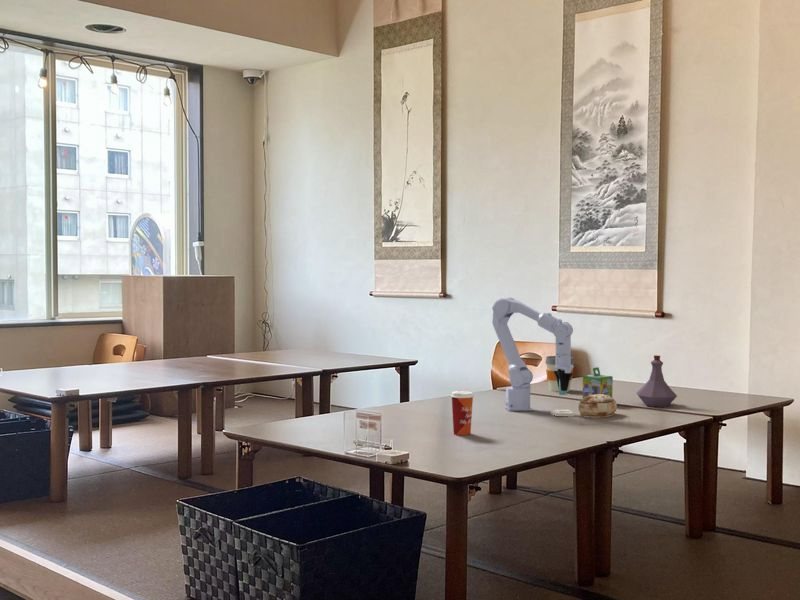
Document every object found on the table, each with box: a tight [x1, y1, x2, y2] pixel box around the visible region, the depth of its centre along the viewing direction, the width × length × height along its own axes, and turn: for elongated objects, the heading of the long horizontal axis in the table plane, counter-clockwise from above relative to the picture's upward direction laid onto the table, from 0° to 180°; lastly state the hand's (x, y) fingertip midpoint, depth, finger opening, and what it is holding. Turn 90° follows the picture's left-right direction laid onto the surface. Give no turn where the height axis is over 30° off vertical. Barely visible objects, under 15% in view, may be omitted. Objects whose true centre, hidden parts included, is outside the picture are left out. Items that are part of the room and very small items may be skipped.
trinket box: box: [578, 394, 618, 419], centre depth 345 cm, size 13×15×8 cm
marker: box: [558, 380, 568, 396], centre depth 349 cm, size 3×3×7 cm
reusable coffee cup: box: [545, 355, 575, 393], centre depth 410 cm, size 13×13×15 cm
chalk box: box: [582, 366, 614, 399], centre depth 372 cm, size 9×9×15 cm
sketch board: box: [549, 409, 575, 417], centre depth 345 cm, size 7×8×1 cm
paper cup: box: [450, 390, 474, 436], centre depth 306 cm, size 8×8×14 cm
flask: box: [635, 354, 678, 407], centre depth 369 cm, size 16×16×20 cm
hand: (562, 390), depth 349 cm, fingers closed on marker, 3 cm apart
